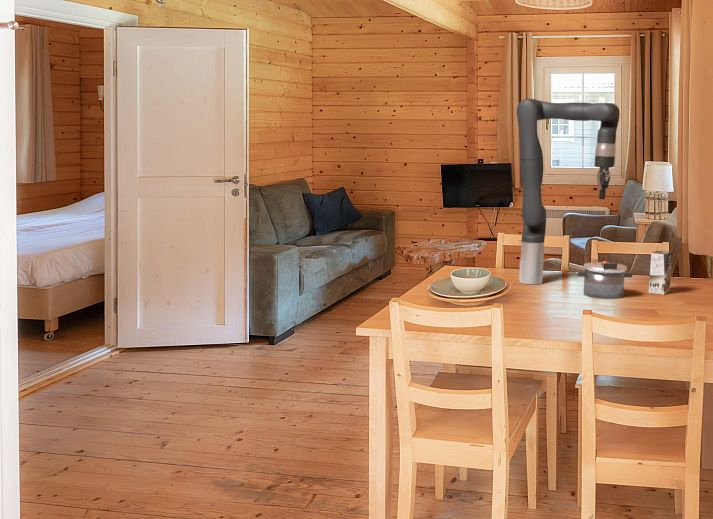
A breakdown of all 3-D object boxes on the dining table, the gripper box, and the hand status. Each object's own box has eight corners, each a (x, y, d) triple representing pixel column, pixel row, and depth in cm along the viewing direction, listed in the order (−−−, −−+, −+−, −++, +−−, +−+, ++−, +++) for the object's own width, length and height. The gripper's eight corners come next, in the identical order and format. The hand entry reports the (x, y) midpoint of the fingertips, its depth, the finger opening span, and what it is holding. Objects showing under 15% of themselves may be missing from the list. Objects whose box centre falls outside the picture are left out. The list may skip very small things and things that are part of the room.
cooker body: (580, 298, 348) (582, 272, 346) (571, 289, 365) (572, 265, 363) (635, 299, 347) (636, 273, 346) (623, 290, 364) (624, 266, 363)
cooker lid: (588, 272, 345) (589, 263, 345) (579, 265, 361) (580, 256, 360) (631, 273, 345) (632, 264, 344) (620, 266, 361) (620, 257, 360)
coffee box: (664, 294, 357) (667, 254, 354) (648, 293, 360) (650, 252, 358) (670, 291, 364) (673, 251, 362) (653, 289, 368) (656, 249, 365)
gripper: (592, 153, 363) (588, 197, 366) (599, 155, 350) (595, 200, 353) (611, 154, 363) (607, 197, 366) (618, 156, 350) (615, 201, 353)
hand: (601, 199), depth 359 cm, fingers closed
